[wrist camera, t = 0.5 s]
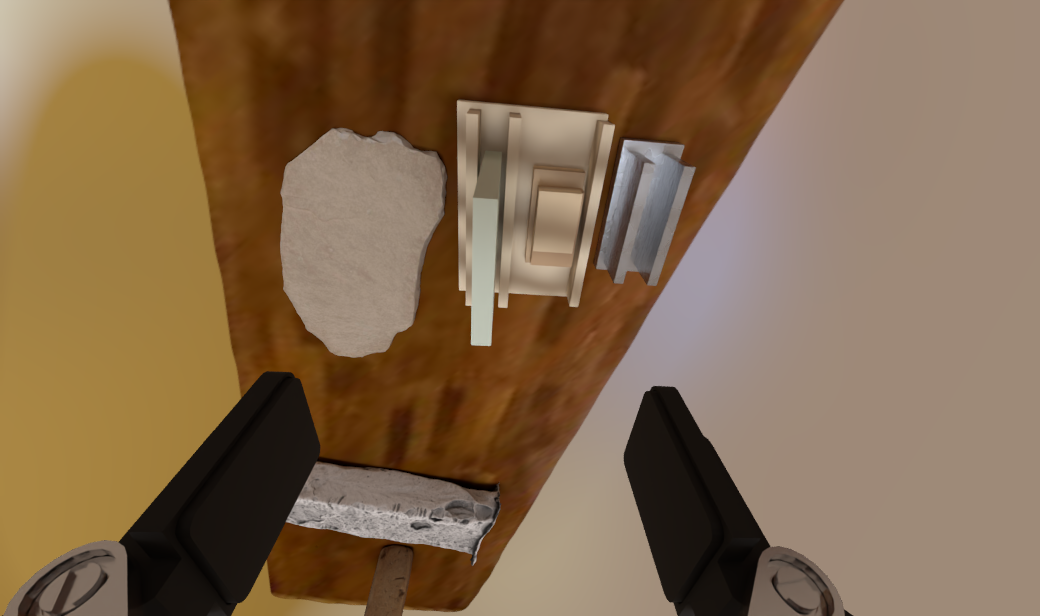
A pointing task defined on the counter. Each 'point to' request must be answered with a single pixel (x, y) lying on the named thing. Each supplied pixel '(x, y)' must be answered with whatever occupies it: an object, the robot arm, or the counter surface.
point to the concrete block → (396, 507)
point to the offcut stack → (554, 215)
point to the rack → (528, 187)
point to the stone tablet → (358, 236)
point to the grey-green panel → (485, 247)
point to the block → (390, 582)
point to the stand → (642, 208)
